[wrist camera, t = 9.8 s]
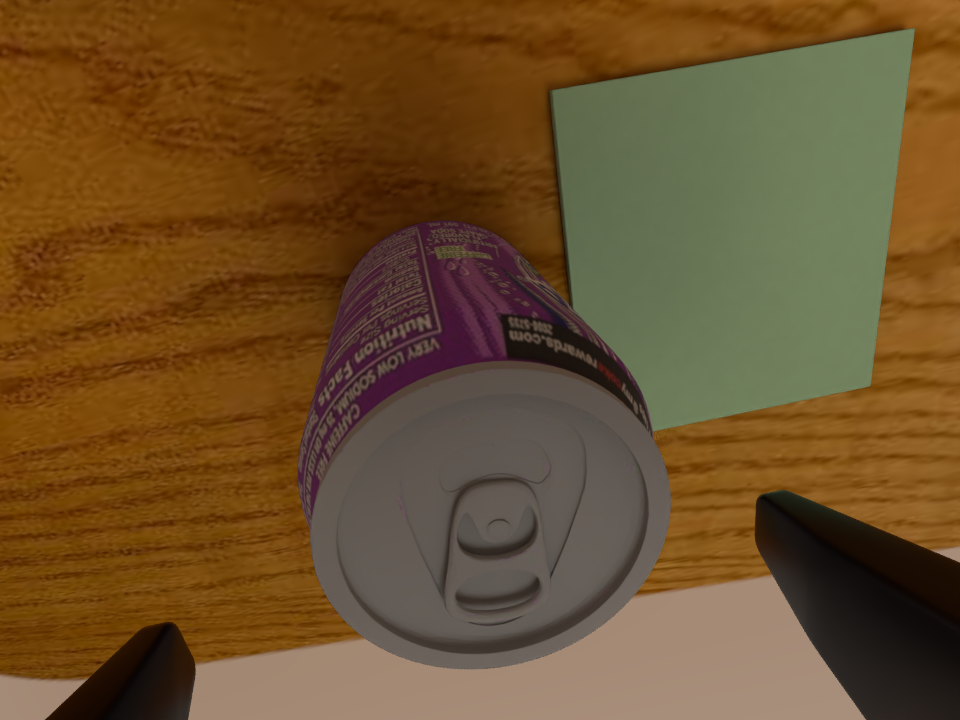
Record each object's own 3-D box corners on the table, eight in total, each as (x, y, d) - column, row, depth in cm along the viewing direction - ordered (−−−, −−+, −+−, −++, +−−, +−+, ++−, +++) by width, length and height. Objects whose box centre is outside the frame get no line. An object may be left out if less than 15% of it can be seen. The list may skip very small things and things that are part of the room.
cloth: (863, 382, 24) (870, 386, 24) (583, 440, 24) (586, 445, 23) (905, 29, 19) (915, 27, 19) (548, 90, 19) (551, 89, 18)
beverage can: (537, 400, 23) (674, 663, 12) (350, 414, 22) (309, 712, 11) (541, 213, 20) (725, 324, 9) (329, 221, 19) (244, 356, 8)
